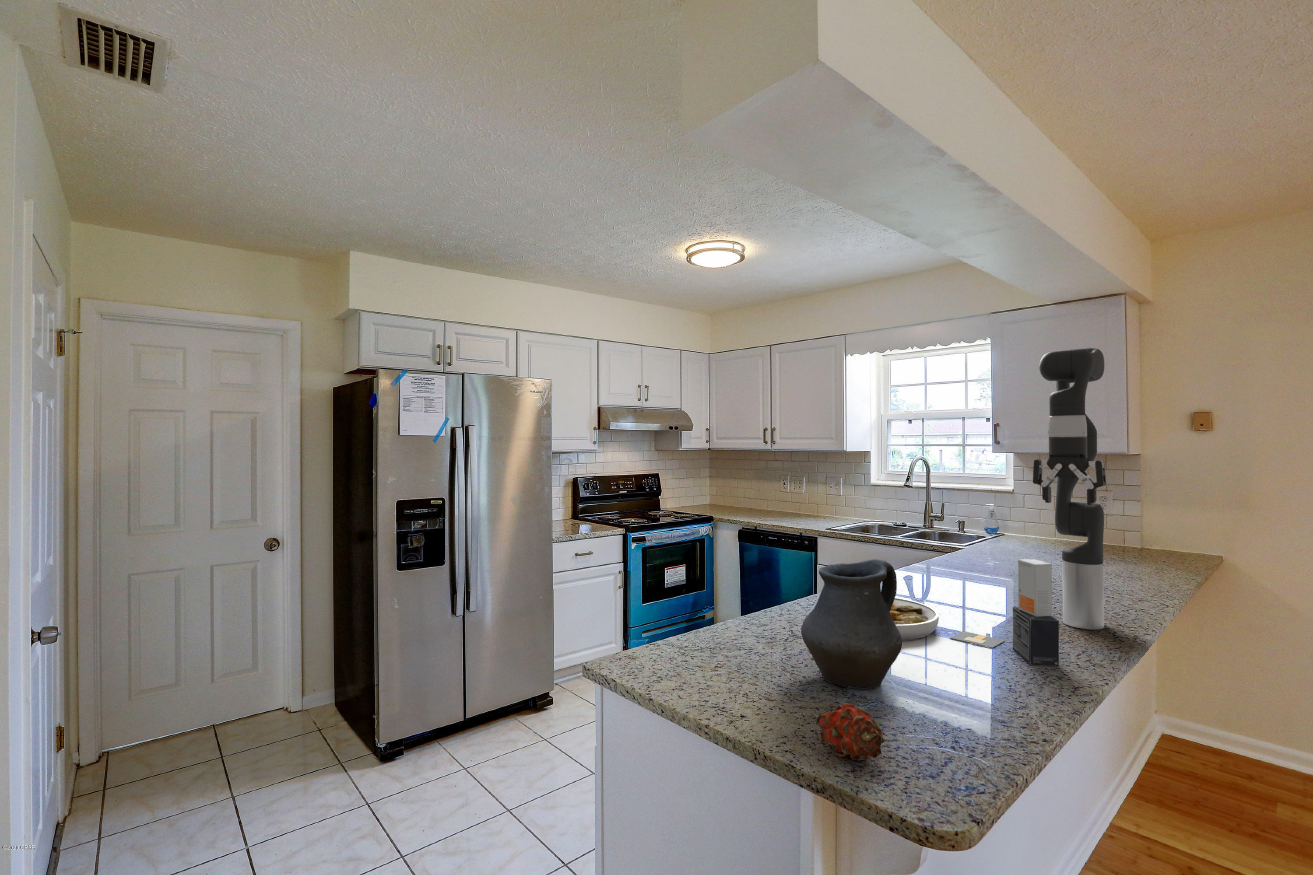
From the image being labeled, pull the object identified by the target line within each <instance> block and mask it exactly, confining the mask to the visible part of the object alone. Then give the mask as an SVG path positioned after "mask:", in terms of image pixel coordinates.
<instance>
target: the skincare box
mask: <svg viewBox="0 0 1313 875" xmlns="http://www.w3.org/2000/svg"><path fill="white" fill-rule="evenodd" d="M1052 570H1053V565H1052V563H1049V562H1045V561H1044V560H1039V559H1038V560H1037V559H1035V558H1021V559H1017V572H1018V573H1017V576H1018V577H1017V580H1018V581H1017V585H1018V586H1017V589H1018V592H1017V594H1018V595H1017V596H1018V598H1017V599H1018V600H1017V601H1018V606H1017V607H1018V609H1019V610H1022V611H1025V612H1027V613H1029V614H1032V615H1034V616H1036V617H1040V616H1052V617H1053V579H1052V578H1053V571H1052Z"/></svg>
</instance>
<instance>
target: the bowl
mask: <svg viewBox="0 0 1313 875" xmlns="http://www.w3.org/2000/svg"><path fill="white" fill-rule="evenodd" d="M890 615H891V617H892V619H893V621H894V623H895V625H896V627H897V628H898V630H899V632H900V634H901V637H902V641H910V640H917V639H921V638H924V637H926V636H928V635H931V634H932V633H933V632H934V631H935V630H936V628H937V627H938V624H939V620H940V617H939V612H938V611H937V610H936V609H935V608H933V607H931V606H930V605H927V604H924V603H921V602H919V601H914V600H911V599H906V598H900V597H895V599H894V602H893V604H892V607H891V610H890Z"/></svg>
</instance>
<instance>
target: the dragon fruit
mask: <svg viewBox="0 0 1313 875" xmlns="http://www.w3.org/2000/svg"><path fill="white" fill-rule="evenodd" d="M815 719H816V720H815V721H816V724H817V725H818V727H819V729H821V730H822V731H821V732H817V737H818V740H819V743H820V744H823V743H824V744H828V745H834V746H835V750H834V753H835V755H836V756H837V757H839V758H845V757H847V756H848V755H849V757H850V759H852V760H854V761H858V762H859V761H860V760H864V759H865V760H866V758H867V757H870V758H874V759H875V758H878V757H879V756H881V755H882V744H883V743H885V742H886V738H884V736H883V734H882V733H883V730H882V728H881V726H880V725H879V724H878V722H877V721H876V720H875V719H874V718H872V716H871V714H870V713H869V712H868V711H866V710H865V708H863V707H861V706H855V705H854V704H852V703H844V702H843V703H841V704H840V705H837V708H835V710H833V711H830V710H829V711H827V712H825V713H821V714H819V715H818V716H817V717H816V718H815ZM865 760H864V761H865Z"/></svg>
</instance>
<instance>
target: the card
mask: <svg viewBox="0 0 1313 875" xmlns="http://www.w3.org/2000/svg"><path fill="white" fill-rule="evenodd" d="M950 640H953V641H958V642H961V641H962V643H966V644H970V643H973V644H972V645H974V644H977V645H976V646H978V645H981V646H980V647H983V646H987V647H990V648H989V649H991V648H993V647H995V646H996V647H998V646H1000V645H1001V644H1000V643H1002V644H1003V643H1005V642H1006V640H1005V639H1000V638H997V637H991V636H988V635H982V634H978V633H973V632H968V631H961V632H959V633H957V634H955V635H952V636H951V637H950ZM1004 641H1005V642H1004ZM999 644H1000V645H999ZM997 645H998V646H997ZM987 647H986V648H987ZM996 647H995V648H996ZM993 649H994V648H993Z"/></svg>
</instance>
